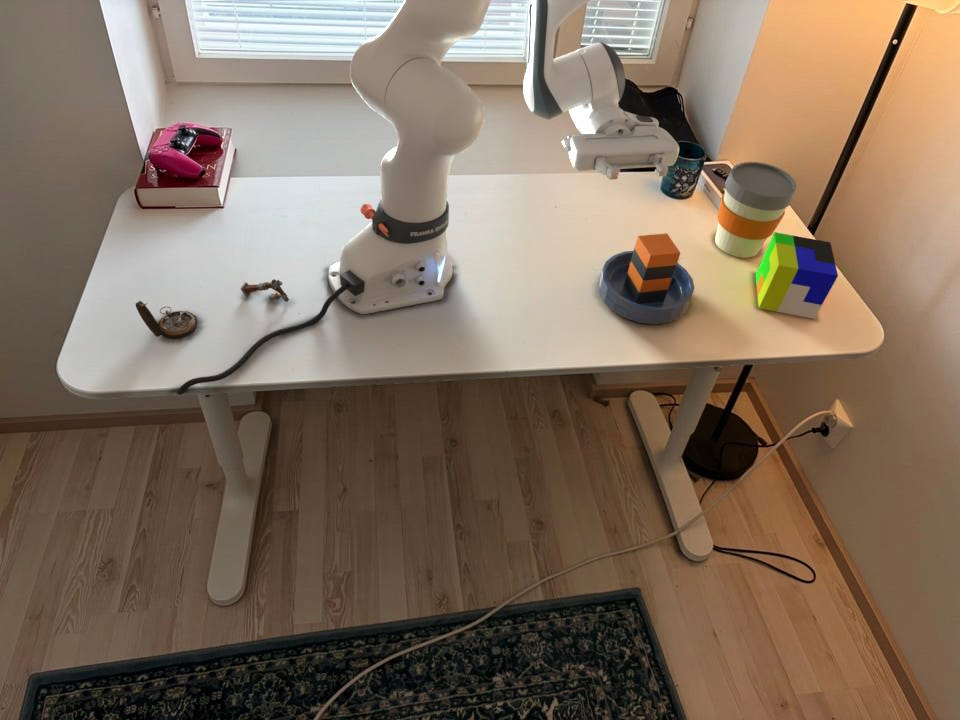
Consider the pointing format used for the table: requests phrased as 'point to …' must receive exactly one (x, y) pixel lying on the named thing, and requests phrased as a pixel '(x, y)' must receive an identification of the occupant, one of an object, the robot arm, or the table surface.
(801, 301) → the puzzle toy
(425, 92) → the robot arm
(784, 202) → the reusable coffee cup
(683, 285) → the bowl
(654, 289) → the puzzle tower
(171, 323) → the compass
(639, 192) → the table surface
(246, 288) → the gnarled brown twig
